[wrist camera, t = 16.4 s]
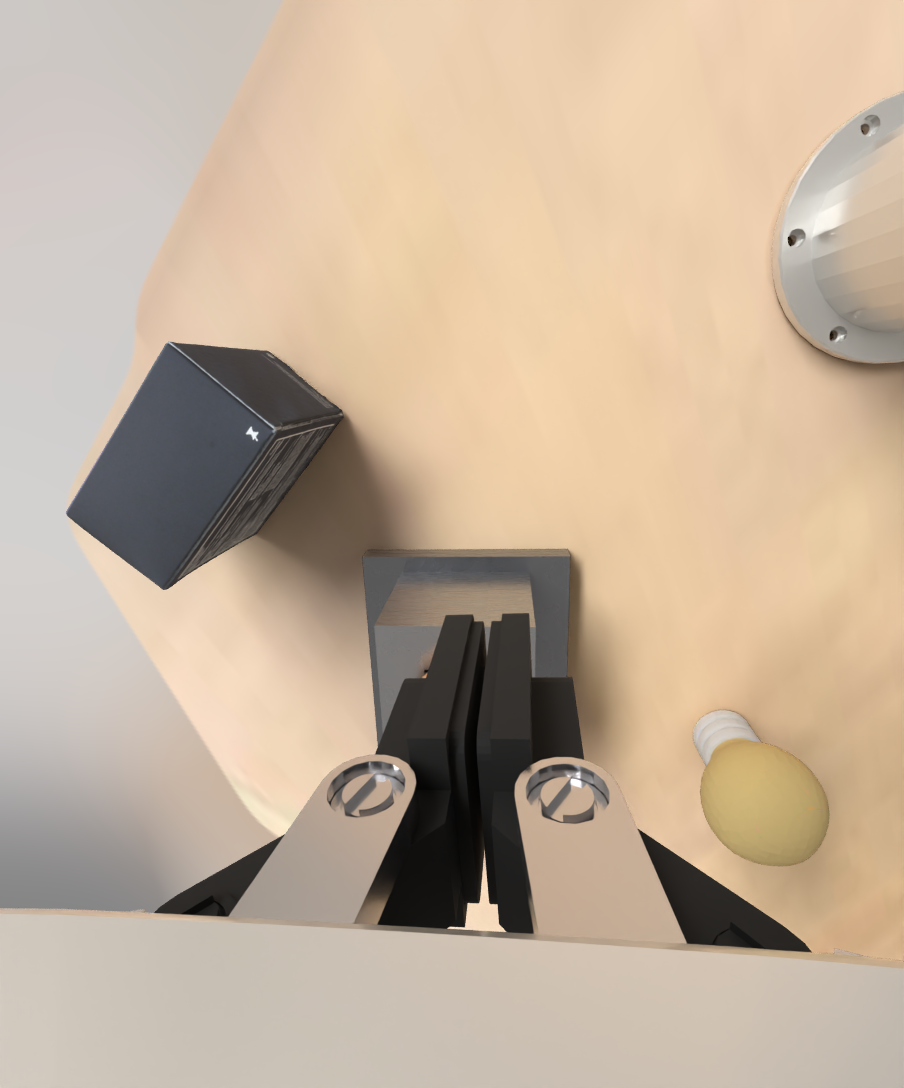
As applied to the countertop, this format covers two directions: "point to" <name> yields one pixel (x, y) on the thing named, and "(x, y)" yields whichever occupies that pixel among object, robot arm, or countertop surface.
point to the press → (459, 607)
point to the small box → (201, 458)
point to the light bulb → (758, 794)
